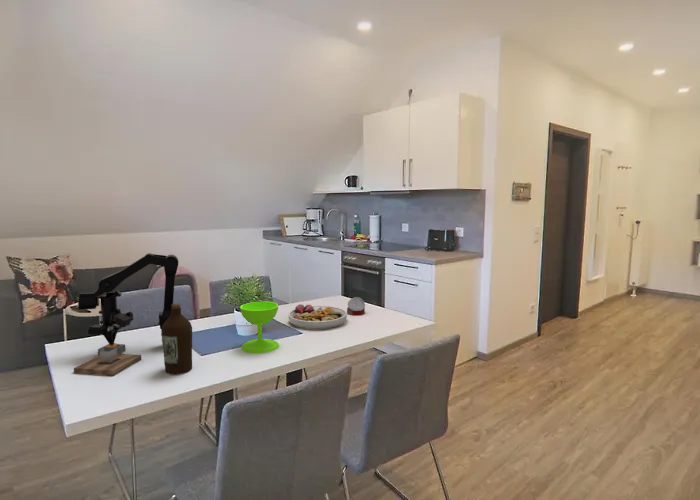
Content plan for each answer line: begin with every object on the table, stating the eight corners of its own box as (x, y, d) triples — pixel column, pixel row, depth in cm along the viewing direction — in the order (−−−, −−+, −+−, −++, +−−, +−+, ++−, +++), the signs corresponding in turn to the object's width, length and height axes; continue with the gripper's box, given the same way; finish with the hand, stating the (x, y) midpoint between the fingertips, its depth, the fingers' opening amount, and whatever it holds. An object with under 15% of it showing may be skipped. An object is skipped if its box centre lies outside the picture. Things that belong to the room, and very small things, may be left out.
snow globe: (364, 320, 242) (372, 305, 239) (354, 322, 234) (363, 307, 231) (349, 308, 247) (357, 294, 244) (339, 310, 239) (347, 295, 236)
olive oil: (178, 362, 167) (175, 299, 164) (200, 366, 163) (197, 302, 160) (156, 373, 157) (153, 306, 154) (179, 377, 154) (176, 309, 151)
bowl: (357, 320, 227) (357, 305, 226) (324, 335, 202) (324, 319, 201) (312, 312, 243) (312, 298, 242) (276, 325, 218) (276, 310, 217)
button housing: (125, 351, 180) (125, 344, 179) (114, 357, 173) (113, 350, 172) (110, 350, 181) (110, 343, 180) (98, 356, 174) (97, 349, 173)
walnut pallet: (141, 359, 170) (141, 354, 170) (113, 376, 155) (113, 370, 154) (105, 357, 173) (104, 352, 173) (74, 373, 157) (73, 368, 157)
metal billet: (117, 363, 165) (116, 347, 165) (110, 367, 161) (109, 351, 161) (108, 362, 166) (107, 347, 165) (100, 366, 162) (99, 351, 161)
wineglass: (233, 350, 181) (232, 308, 179) (254, 338, 196) (253, 300, 194) (266, 355, 175) (265, 312, 173) (285, 342, 190) (285, 303, 188)
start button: (119, 349, 178) (119, 343, 178) (113, 353, 174) (112, 346, 174) (111, 349, 179) (110, 342, 178) (104, 352, 175) (104, 345, 175)
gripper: (110, 314, 164) (113, 354, 166) (141, 302, 182) (144, 338, 184) (84, 313, 166) (87, 352, 168) (118, 301, 184) (120, 337, 186)
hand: (111, 344), depth 176 cm, fingers closed, pressing on start button
